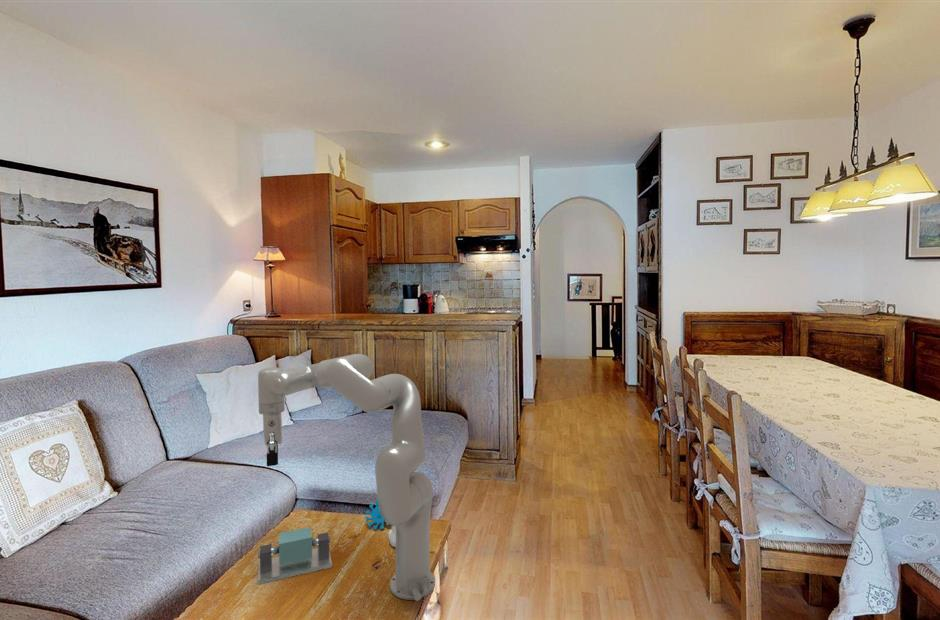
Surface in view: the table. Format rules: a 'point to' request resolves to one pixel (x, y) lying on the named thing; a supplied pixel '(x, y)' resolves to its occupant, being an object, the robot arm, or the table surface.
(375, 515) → the blue lumpy piece
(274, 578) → the shaft rig
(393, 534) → the seated beast figurine
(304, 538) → the teal block
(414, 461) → the robot arm
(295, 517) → the table surface
